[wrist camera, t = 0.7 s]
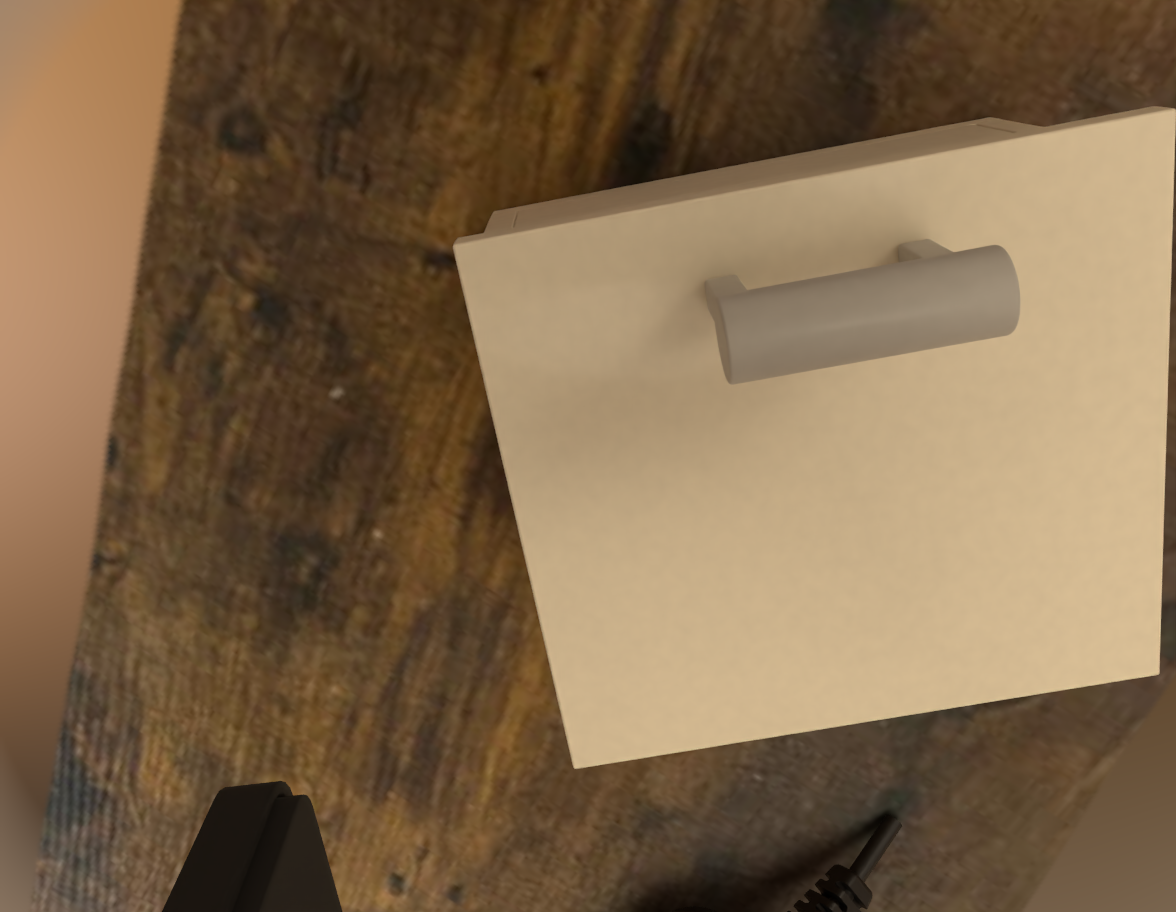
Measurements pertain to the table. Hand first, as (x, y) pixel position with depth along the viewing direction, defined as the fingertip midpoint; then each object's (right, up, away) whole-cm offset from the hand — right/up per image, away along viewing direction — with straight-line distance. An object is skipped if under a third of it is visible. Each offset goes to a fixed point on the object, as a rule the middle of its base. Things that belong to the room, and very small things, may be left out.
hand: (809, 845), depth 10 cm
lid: (+4, +3, +14) cm, 15 cm away
